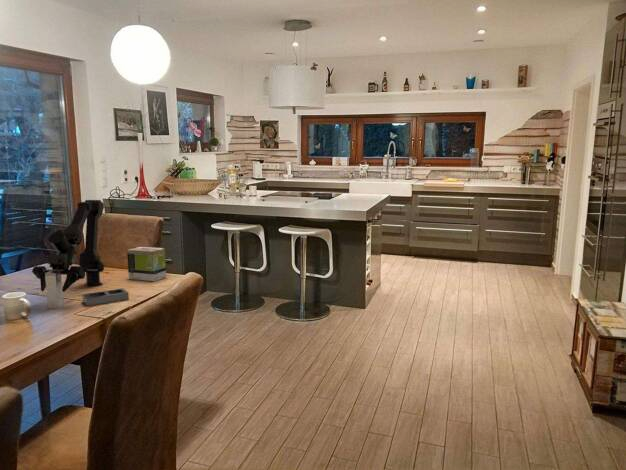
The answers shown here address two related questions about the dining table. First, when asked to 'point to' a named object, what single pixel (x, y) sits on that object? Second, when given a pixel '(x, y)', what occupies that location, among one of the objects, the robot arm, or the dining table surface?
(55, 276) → the grey tall block
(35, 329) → the dining table surface
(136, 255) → the tea box
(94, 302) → the grey compartment tray
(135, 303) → the dining table surface
